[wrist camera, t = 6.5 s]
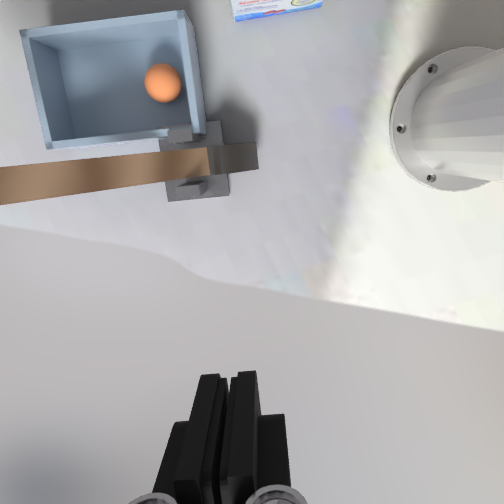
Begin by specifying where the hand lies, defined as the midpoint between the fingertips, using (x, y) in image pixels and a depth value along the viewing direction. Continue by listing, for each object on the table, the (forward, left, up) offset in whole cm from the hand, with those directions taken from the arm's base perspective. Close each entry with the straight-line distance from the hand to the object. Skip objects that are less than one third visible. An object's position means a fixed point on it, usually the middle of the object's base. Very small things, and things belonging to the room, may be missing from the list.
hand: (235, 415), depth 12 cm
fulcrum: (+5, -7, -29) cm, 30 cm away
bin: (+10, -14, -29) cm, 34 cm away
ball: (+7, -14, -26) cm, 30 cm away
